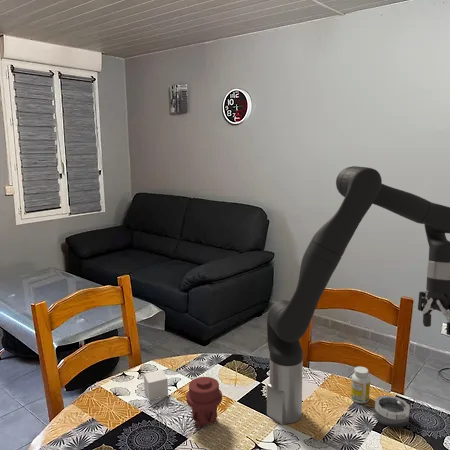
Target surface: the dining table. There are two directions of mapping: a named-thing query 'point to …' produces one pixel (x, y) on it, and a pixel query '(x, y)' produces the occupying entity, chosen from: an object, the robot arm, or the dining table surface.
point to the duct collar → (392, 411)
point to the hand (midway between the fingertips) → (438, 330)
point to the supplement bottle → (360, 385)
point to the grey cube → (155, 384)
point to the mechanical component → (204, 400)
